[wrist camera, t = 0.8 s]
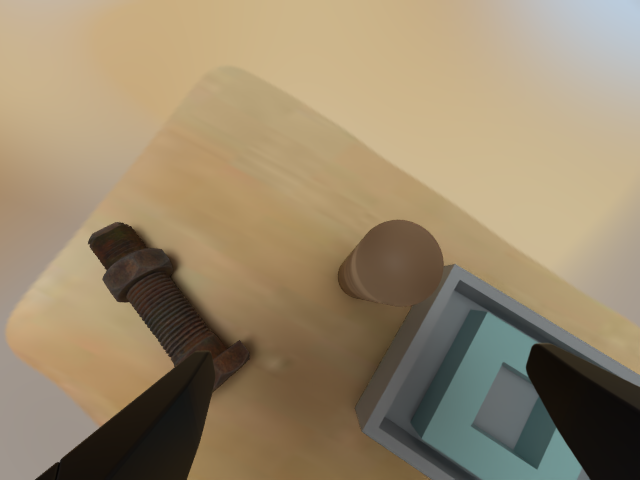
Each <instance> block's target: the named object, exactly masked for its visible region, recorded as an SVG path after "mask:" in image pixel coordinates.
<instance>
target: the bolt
mask: <svg viewBox="0 0 640 480" xmlns="http://www.w3.org/2000/svg"><path fill="white" fill-rule="evenodd" d="M88 244H90V248H91V250H92V251H93V253H95V255H96V256H97V257H98V259H99V260H100V262H101V263H102V265H103V266H104V267H105V269H106V270H107V271H106V273H105V274H104V276H103V281H104V283H105V285H106V286H107V288H108V289H109V291H110V292H111V294H112V295H113V296H114V298H115V299H116V300H117V302H130V303H131V304H132V306H133V307H134V309H135V310H136V311H137V313H138V314H139V315H140V317H142V320H143V321H145V324H147V327H148V328H150V331H152V333H153V334H154V335H155V336H156V338H157V339H158V341H159V342H161V343H160V344H161V346H163V349H164V350H166V353H168V354H169V355H168V356H169V357H171V360H172V361H173V363H174V367H176V366H177V365H178V364H180V363H181V362H182V361H183V360H185V359H186V358H187V357H188V356H189V355H191V354H192V353H193V352H195V351H210V352H211V354H212V358H213V363H214V369H215V383H214V387H213V392H214V391H215V390H216V389H217V388H218V387H219V386H220V385H222V384H223V383H224V382H225V381H226V380H227V379H228V378H229V377H230V376H232V375H233V374H234V373H235V372H236V371H237V370H238V369H240V368H241V367H242V366H243V365H244V364H245V363H246V362H247V361H248V360H249V359H250V355H249V352H248V350H247V349H246V348H245V346H244V345H243V344H242V343H241V341H240V340H239V341H238V342H236V343H235V344H234V345H232V346H231V347H229V348H228V349H227V348H226V347H225V346H224V345H223V343H222V342H221V341H220V340H219V338H218V337H217V336H216V334H213V333H212V332H211V331H210V329H209V328H207V325H204V323H205V322H204V321H202V318H199V314H198V315H197V312H196V311H194V308H193V307H192V305H191V304H189V302H188V301H187V299H186V298H184V295H183V294H182V292H181V291H179V288H177V286H176V285H174V282H172V279H171V278H169V277H170V276H171V274H172V272H173V268H172V264H171V262H170V259H169V258H168V257H167V255H166V254H165V253H164V252H163V250H162V249H155V248H147V247H146V246H145V244H144V243H143V242H142V241H141V239H140V238H139V236H138V235H137V234H136V232H135V231H134V230H133V229H132V227H131V226H129V225H127V224H124V223H119V222H115V223H113V224H111V225H109V226H107V227H105V228H103V229H101V230H99V231H97V232H95V233H93V234H92V235H91V237H90V239H89V241H88ZM213 392H212V393H213Z"/></svg>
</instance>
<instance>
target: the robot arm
mask: <svg viewBox="0 0 640 480" xmlns="http://www.w3.org/2000/svg"><path fill="white" fill-rule="evenodd" d="M526 372H527V375H528V377H529V379H530V381H531V383H532V384H533V386H534V388H535V390H536V392H537V394H538V395H539V397H540V399H541V401H542V403H543V405H544V406H545V408H546V410H547V412H548V414H549V416H550V417H551V419H552V421H553V423H554V425H555V426H556V428H557V430H558V431H559V433H560V435H561V436H562V438H563V439H564V441H565V442H566V444H567V446H568V447H569V449H570V450H571V452H572V453H573V455H574V456H575V458H576V459H577V461H578V462H579V464H580V465H581V467H582V468H583V470H584V471H585V473H586V474H587V476H588V477H589V479H590V480H640V387H639V386H637V385H635V384H633V383H631V382H629V381H627V380H625V379H623V378H621V377H619V376H617V375H614V374H612V373H610V372H608V371H606V370H604V369H602V368H600V367H598V366H596V365H594V364H592V363H590V362H588V361H586V360H584V359H582V358H580V357H578V356H576V355H574V354H571V353H569V352H567V351H565V350H563V349H561V348H559V347H557V346H555V345H553V344H550V343H536V344H534V345H533V346H532V347H531V350H530V353H529V357H528V360H527V363H526ZM214 383H215V369H214V363H213V358H212V354H211V352H210V351H195V352H193V353H192V354H191V355H189V356H188V357H187V358H186V359H185V360H183V361H182V362H181V363H180V364H178V365H177V366H176V367H175V368H173V369H172V370H171V371H170V372H168V373H167V374H166V375H165V376H163V377H162V378H161V379H160V380H158V381H157V382H156V383H155V384H153V385H152V386H151V387H150V388H148V389H147V390H146V391H145V392H144V393H142V394H141V395H140V396H139V397H137V398H136V399H135V400H134V401H132V402H131V403H130V404H129V405H127V406H126V407H125V408H124V409H122V410H121V411H120V412H119V413H117V414H116V415H115V416H114V417H112V418H111V419H110V420H109V421H108V422H106V423H105V424H104V425H103V426H101V427H100V428H99V429H98V430H96V431H95V432H94V433H93V434H91V435H90V436H89V437H88V438H86V439H85V440H84V441H83V442H81V443H80V444H79V445H78V446H76V447H75V448H74V449H73V450H71V451H70V452H69V453H68V454H67V455H65V456H64V457H63V458H62V459H61V460H60V462H57V463H55V464H54V465H53V466H51V467H50V468H49V469H48V470H46V471H45V472H44V473H43V474H42V475H40V476H39V477H38V478H36V479H35V480H187V477H188V474H189V472H190V469H191V466H192V463H193V460H194V457H195V455H196V452H197V449H198V446H199V443H200V440H201V436H202V432H203V428H204V424H205V420H206V416H207V412H208V408H209V404H210V400H211V396H212V392H213V387H214Z"/></svg>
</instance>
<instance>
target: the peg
mask: <svg viewBox="0 0 640 480" xmlns="http://www.w3.org/2000/svg"><path fill="white" fill-rule="evenodd" d="M443 267H444V263H443V256H442V252H441V249H440V247H439V245H438V243H437V241H436V240H435V238H434V237H433V236H432V235H431V234H430V233H429V232H428V231H427V230H426V229H424V228H423V227H421V226H420V225H418V224H416V223H413V222H410V221H405V220H391V221H387V222H383V223H381V224H379V225H377V226H375V227H374V228H373V229H371V230H370V231H369V232H368V233H367V234H366V235H365V237H364V238H363V239H362V240H361V241H360V243H359V244H358V245H357V246H356V248H355V249H354V250H353V251H352V252H351V254H350V255H349V256H348V257H347V258H346V260H345V261H344V262H343V263H342V265H341V266H340V269H339V272H338V281H339V284H340V286H341V288H342V290H343V291H344V292H345V293H346V294H348V295H349V296H351V297H354V298H359V299H364V300H368V301H373V302H378V303H382V304H387V305H392V306H398V307H407V306H412V305H416V304H418V303H420V302H423V301H424V300H426V299H427V298H428V297H429V296H431V295H432V294H433V292H434V291H435V290H436V289H437V287H438V285H439V283H440V281H441V278H442V275H443Z"/></svg>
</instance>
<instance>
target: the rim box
mask: <svg viewBox="0 0 640 480" xmlns="http://www.w3.org/2000/svg"><path fill="white" fill-rule="evenodd" d="M536 343H550V344H553V345H555V346H557V347H559V348H561V349H563V350H565V351H567V352H569V353H571V354H574V355H576V356H578V357H580V358H582V359H584V360H586V361H588V362H590V363H592V364H594V365H596V366H598V367H600V368H602V369H604V370H606V371H608V372H610V373H612V374H614V375H617V376H619V377H621V378H623V379H625V380H627V381H629V382H631V383H633V384H635V385H637V386H639V387H640V375H638V374H637V373H635V372H633V371H632V370H630V369H629V368H627V367H625V366H624V365H622V364H620V363H619V362H617V361H615V360H614V359H612V358H610V357H609V356H607V355H605V354H604V353H602V352H600V351H599V350H597V349H595V348H594V347H592V346H590V345H589V344H587V343H585V342H584V341H582V340H580V339H579V338H577V337H575V336H574V335H572V334H570V333H569V332H567V331H565V330H564V329H562V328H560V327H559V326H557V325H555V324H554V323H552V322H550V321H549V320H547V319H546V318H544V317H542V316H541V315H539V314H537V313H536V312H534V311H532V310H531V309H529V308H527V307H526V306H524V305H522V304H521V303H519V302H517V301H516V300H514V299H512V298H511V297H509V296H507V295H506V294H504V293H502V292H501V291H499V290H497V289H496V288H494V287H492V286H491V285H489V284H487V283H486V282H484V281H482V280H481V279H479V278H477V277H476V276H474V275H472V274H471V273H469V272H467V271H466V270H464V269H463V268H461V267H459V266H458V265H456V264H453V265H448V266H444V267H443V275H442V278H441V281H440V283H439V285H438V287H437V289H436V290H435V291H434V292H433V294H432V295H431V296H429V297H428V298H427V299H426V300H424V301H423V302H420V303H418V304H416V305H413V306H412V308H411V310H410V311H409V313H408V315H407V317H406V318H405V320H404V322H403V324H402V325H401V327H400V329H399V331H398V332H397V334H396V336H395V338H394V340H393V341H392V343H391V345H390V347H389V348H388V350H387V352H386V354H385V355H384V357H383V359H382V361H381V362H380V364H379V366H378V368H377V370H376V371H375V373H374V375H373V377H372V378H371V380H370V382H369V384H368V385H367V387H366V389H365V391H364V392H363V394H362V396H361V398H360V399H359V401H358V403H357V405H356V407H355V410H356V414H357V417H358V420H359V424H360V427H361V431H362V432H363V433H364V434H366V435H367V436H369V437H370V438H372V439H373V440H375V441H376V442H378V443H379V444H381V445H382V446H383V447H385V448H386V449H388V450H389V451H391V452H392V453H394V454H395V455H397V456H398V457H400V458H401V459H403V460H404V461H405V462H407V463H408V464H410V465H411V466H413V467H414V468H416V469H417V470H419V471H420V472H422V473H423V474H425V475H426V476H427V477H429V478H430V479H432V480H590V479H589V477H588V476H587V474H586V473H585V471H584V470H583V468H582V467H581V465H580V464H579V462H578V461H577V459H576V458H575V456H574V455H573V453H572V452H571V450H570V449H569V447H568V446H567V444H566V442H565V441H564V439H563V438H562V436H561V435H560V433H559V431H558V430H557V428H556V426H555V425H554V423H553V421H552V419H551V417H550V416H549V414H548V412H547V410H546V408H545V406H544V405H543V403H542V401H541V399H540V397H539V395H538V394H537V392H536V390H535V388H534V386H533V384H532V383H531V381H530V379H529V377H528V375H527V372H526V363H527V360H528V357H529V353H530V350H531V347H532V346H533V345H534V344H536Z"/></svg>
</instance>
